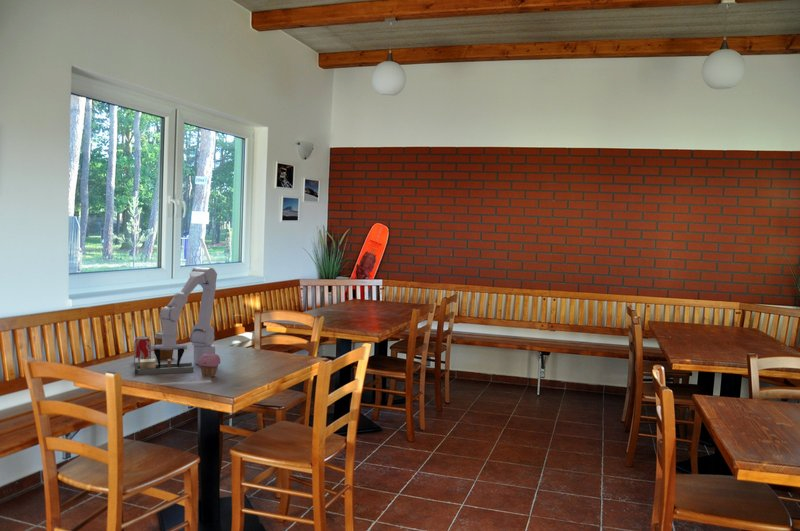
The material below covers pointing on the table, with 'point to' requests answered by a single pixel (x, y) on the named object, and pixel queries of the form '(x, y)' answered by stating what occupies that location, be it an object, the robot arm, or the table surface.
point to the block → (152, 364)
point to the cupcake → (209, 364)
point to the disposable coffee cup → (165, 353)
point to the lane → (174, 369)
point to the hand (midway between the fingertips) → (168, 366)
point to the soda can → (142, 348)
